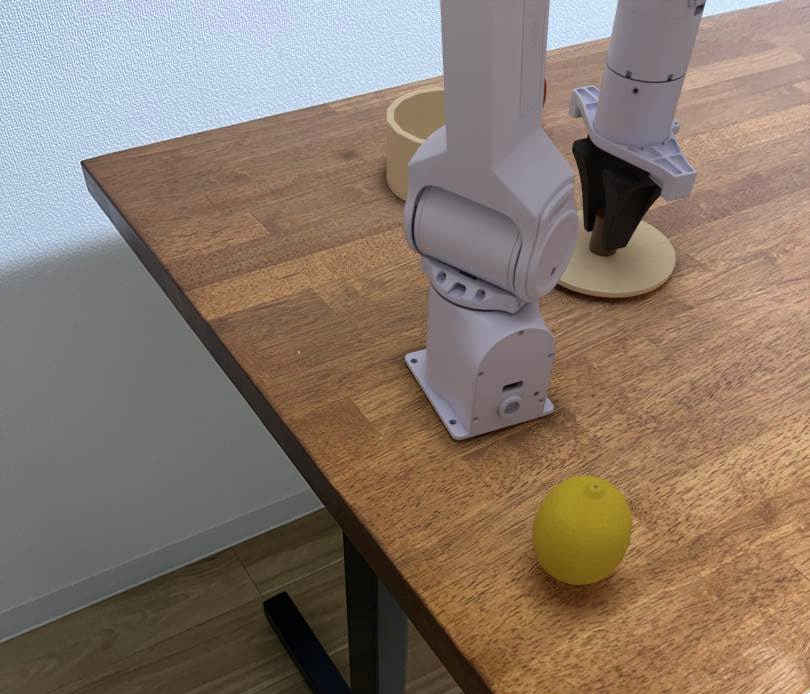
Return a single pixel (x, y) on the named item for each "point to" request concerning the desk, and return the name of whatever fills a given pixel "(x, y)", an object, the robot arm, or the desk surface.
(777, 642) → the desk surface
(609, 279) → the lid
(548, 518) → the lemon
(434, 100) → the pot
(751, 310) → the desk surface
